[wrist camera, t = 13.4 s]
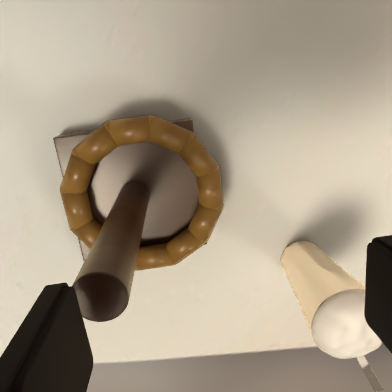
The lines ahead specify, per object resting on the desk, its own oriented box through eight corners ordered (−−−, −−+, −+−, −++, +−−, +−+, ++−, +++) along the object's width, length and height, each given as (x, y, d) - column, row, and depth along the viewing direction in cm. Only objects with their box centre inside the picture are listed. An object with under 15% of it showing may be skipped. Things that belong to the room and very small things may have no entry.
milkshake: (282, 298, 28) (339, 404, 19) (266, 243, 26) (319, 330, 17) (334, 280, 28) (419, 378, 18) (321, 224, 26) (406, 301, 17)
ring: (86, 271, 24) (80, 283, 23) (49, 127, 21) (40, 130, 20) (226, 250, 25) (230, 261, 23) (211, 106, 22) (214, 107, 20)
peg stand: (88, 252, 26) (5, 415, 13) (59, 134, 23) (-83, 192, 10) (205, 236, 26) (238, 379, 13) (190, 117, 23) (214, 152, 10)
